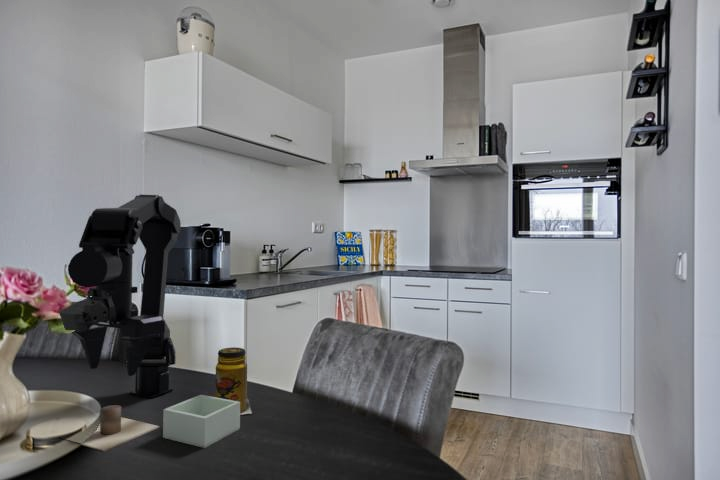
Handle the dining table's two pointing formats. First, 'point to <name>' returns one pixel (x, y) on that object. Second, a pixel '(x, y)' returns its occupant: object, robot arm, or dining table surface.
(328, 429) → the dining table surface
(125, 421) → the lid
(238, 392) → the condiment
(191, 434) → the mint green open box
